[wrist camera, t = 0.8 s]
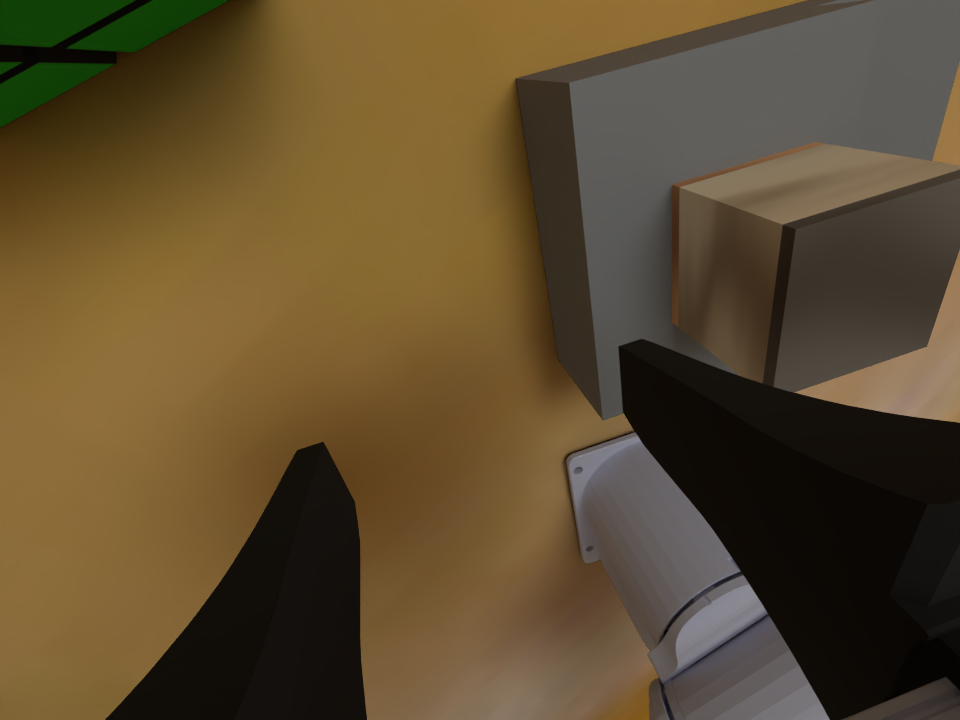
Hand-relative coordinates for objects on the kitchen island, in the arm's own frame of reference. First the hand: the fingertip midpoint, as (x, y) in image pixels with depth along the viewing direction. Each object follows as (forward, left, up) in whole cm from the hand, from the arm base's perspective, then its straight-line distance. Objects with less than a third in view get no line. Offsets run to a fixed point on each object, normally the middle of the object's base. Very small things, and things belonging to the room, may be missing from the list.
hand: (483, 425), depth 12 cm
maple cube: (0, -10, -5) cm, 12 cm away
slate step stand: (0, -13, -10) cm, 16 cm away
